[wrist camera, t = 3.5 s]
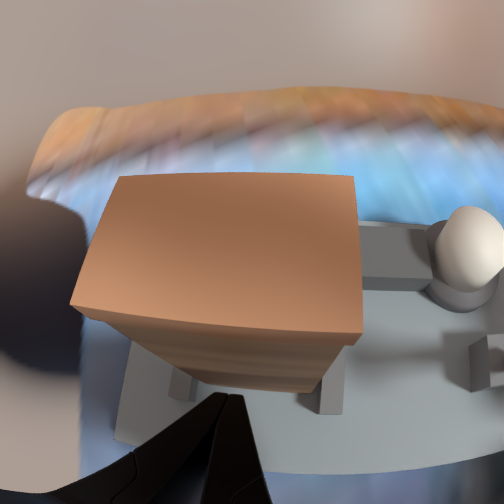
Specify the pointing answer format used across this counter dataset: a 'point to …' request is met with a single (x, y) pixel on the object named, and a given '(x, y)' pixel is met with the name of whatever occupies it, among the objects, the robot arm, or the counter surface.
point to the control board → (376, 364)
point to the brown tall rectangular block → (230, 274)
